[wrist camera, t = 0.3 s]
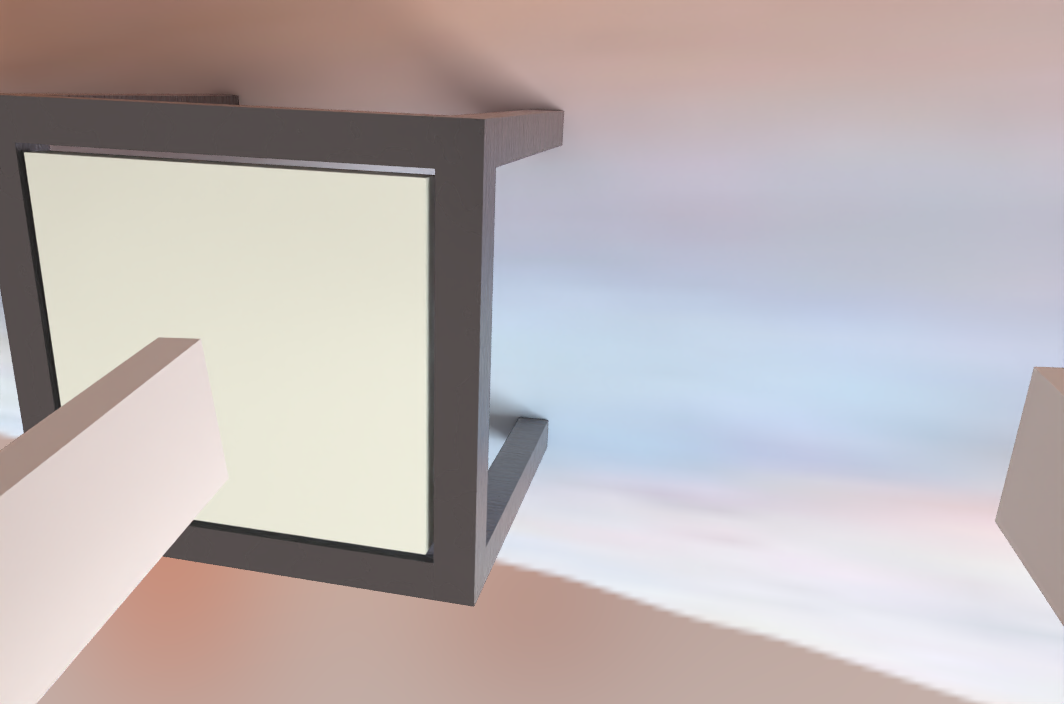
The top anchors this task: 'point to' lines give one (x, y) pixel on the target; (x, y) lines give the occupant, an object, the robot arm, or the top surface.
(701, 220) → the top surface
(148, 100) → the stand
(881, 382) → the top surface
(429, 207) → the trapdoor
